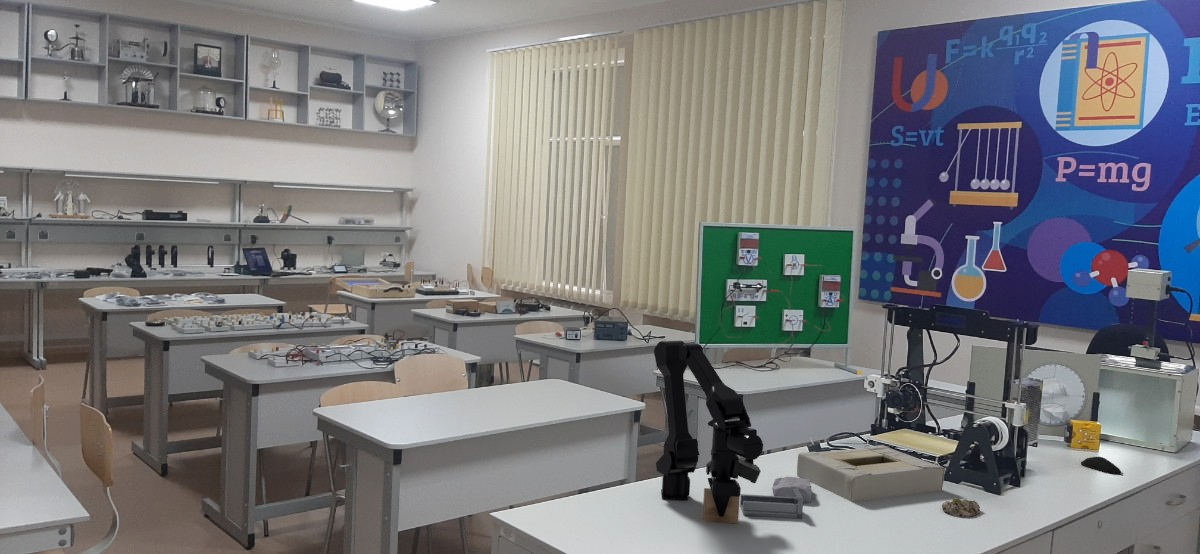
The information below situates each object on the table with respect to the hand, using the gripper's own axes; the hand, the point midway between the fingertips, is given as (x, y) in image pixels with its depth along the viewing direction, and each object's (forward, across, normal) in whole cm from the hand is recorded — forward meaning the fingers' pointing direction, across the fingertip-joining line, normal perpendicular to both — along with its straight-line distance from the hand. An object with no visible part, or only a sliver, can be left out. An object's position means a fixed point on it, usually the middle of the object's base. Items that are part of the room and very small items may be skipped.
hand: (720, 513), depth 205 cm
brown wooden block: (+2, 0, 0) cm, 2 cm away
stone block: (+2, +23, -21) cm, 31 cm away
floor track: (+2, +8, -13) cm, 15 cm away
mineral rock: (+2, +16, -62) cm, 64 cm away
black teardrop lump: (+2, +64, -123) cm, 138 cm away
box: (+2, +37, -44) cm, 58 cm away
